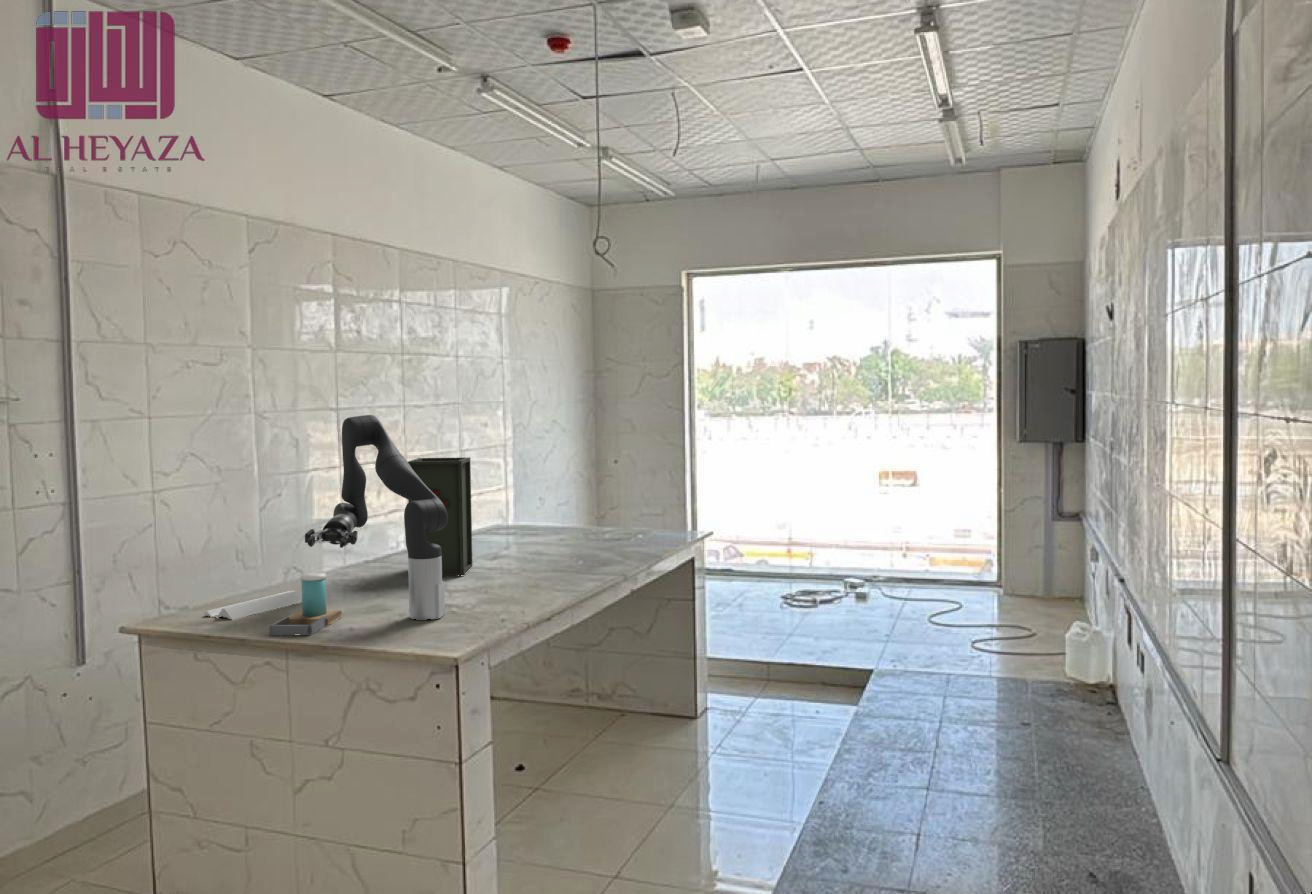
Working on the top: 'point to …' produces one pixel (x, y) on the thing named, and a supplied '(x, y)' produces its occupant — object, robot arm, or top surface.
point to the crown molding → (257, 605)
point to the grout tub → (313, 594)
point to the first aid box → (450, 509)
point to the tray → (296, 627)
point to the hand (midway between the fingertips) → (325, 543)
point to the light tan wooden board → (313, 617)
